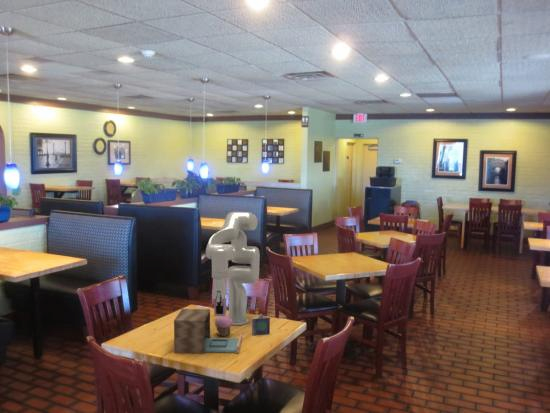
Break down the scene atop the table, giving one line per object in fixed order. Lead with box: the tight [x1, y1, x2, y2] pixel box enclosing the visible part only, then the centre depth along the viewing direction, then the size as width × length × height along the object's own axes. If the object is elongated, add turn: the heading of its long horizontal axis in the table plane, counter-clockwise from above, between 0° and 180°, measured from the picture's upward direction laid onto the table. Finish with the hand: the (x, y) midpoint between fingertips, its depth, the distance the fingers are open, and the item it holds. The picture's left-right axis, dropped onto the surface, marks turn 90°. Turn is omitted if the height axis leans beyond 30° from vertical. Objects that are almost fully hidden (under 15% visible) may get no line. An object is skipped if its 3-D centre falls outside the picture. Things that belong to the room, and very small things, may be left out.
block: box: [213, 297, 227, 317], centre depth 220 cm, size 5×5×7 cm
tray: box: [204, 332, 243, 354], centre depth 226 cm, size 18×17×3 cm
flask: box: [251, 313, 271, 336], centre depth 242 cm, size 9×3×11 cm, turn 102°
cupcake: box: [214, 315, 233, 337], centre depth 241 cm, size 9×9×10 cm
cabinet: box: [173, 308, 211, 354], centre depth 226 cm, size 14×17×16 cm
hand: (220, 311), depth 221 cm, fingers closed on block, 5 cm apart
